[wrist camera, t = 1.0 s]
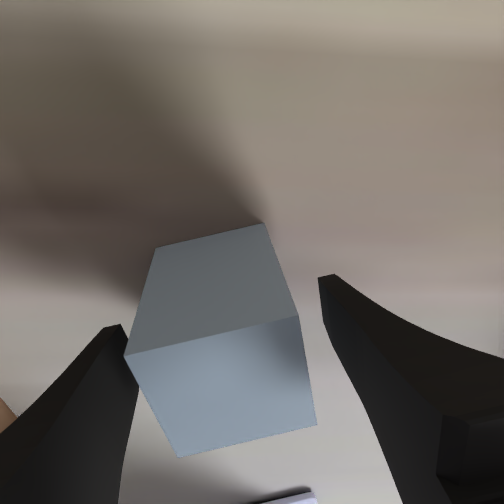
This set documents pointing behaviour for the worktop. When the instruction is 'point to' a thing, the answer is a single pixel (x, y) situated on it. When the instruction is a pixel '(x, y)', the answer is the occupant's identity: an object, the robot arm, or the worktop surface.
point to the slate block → (220, 343)
